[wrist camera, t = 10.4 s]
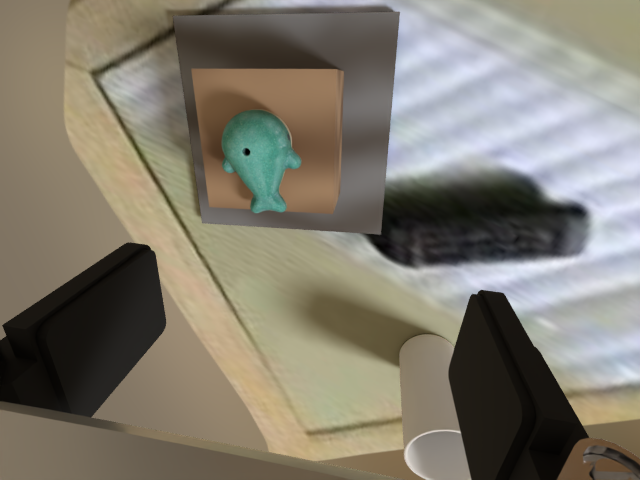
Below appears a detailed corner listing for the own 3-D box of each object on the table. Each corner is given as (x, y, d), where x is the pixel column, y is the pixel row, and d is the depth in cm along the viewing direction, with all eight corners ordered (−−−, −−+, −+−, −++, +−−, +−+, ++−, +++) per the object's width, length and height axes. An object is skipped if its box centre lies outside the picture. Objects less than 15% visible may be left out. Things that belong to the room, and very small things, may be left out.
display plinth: (178, 17, 29) (124, 0, 23) (398, 13, 27) (405, -7, 21) (206, 219, 37) (171, 248, 30) (380, 230, 34) (381, 263, 28)
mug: (393, 374, 42) (399, 477, 31) (399, 328, 39) (408, 424, 28) (482, 384, 40) (521, 495, 29) (495, 338, 37) (543, 442, 27)
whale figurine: (300, 105, 24) (288, 109, 21) (308, 207, 27) (299, 225, 24) (220, 110, 25) (195, 115, 21) (237, 208, 28) (217, 226, 24)
